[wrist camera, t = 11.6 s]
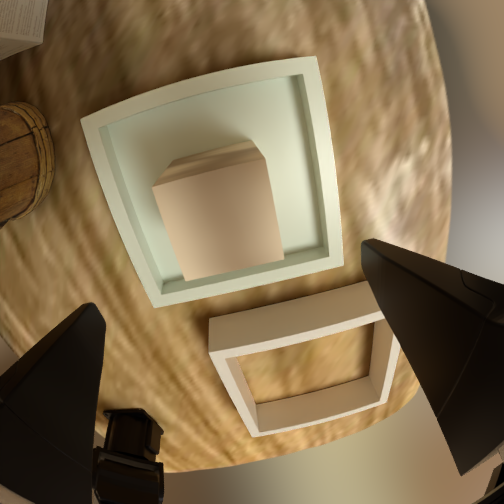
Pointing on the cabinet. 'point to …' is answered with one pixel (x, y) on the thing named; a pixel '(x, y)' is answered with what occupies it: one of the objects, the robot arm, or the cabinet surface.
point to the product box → (21, 25)
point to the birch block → (219, 211)
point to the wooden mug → (23, 160)
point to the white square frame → (295, 331)
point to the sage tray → (215, 136)
